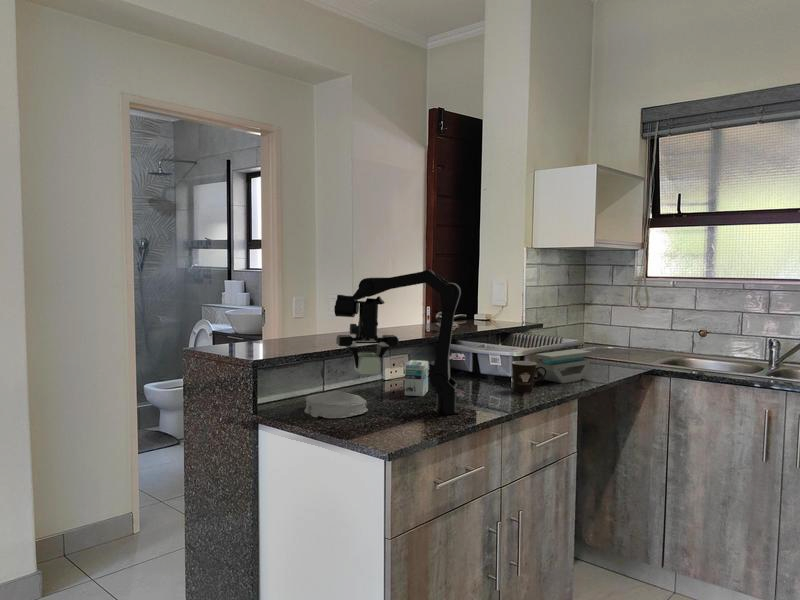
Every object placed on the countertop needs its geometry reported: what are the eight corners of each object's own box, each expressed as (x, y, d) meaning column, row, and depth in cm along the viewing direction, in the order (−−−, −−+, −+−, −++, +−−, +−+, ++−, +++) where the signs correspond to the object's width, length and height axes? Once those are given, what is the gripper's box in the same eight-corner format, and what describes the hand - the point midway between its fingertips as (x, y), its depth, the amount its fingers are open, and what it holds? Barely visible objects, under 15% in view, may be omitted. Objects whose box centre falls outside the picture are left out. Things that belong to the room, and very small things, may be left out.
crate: (379, 373, 191) (380, 357, 191) (360, 374, 189) (360, 357, 189) (372, 368, 200) (373, 352, 200) (353, 368, 198) (354, 352, 198)
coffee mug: (507, 391, 223) (508, 363, 222) (515, 387, 231) (516, 360, 230) (540, 395, 218) (541, 366, 217) (546, 390, 225) (547, 363, 224)
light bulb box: (423, 396, 212) (424, 365, 211) (404, 395, 213) (404, 364, 213) (428, 390, 222) (429, 360, 222) (409, 389, 224) (410, 359, 223)
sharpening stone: (574, 375, 256) (575, 349, 255) (590, 378, 250) (591, 351, 249) (534, 382, 241) (535, 354, 240) (551, 385, 235) (552, 356, 234)
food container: (291, 410, 193) (291, 388, 192) (346, 400, 205) (346, 380, 205) (324, 425, 177) (324, 401, 177) (381, 414, 189) (381, 392, 189)
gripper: (390, 315, 204) (388, 362, 205) (333, 315, 198) (332, 363, 200) (400, 319, 193) (398, 369, 194) (340, 319, 188) (338, 370, 189)
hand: (366, 367), depth 195 cm, fingers closed on crate, 6 cm apart
